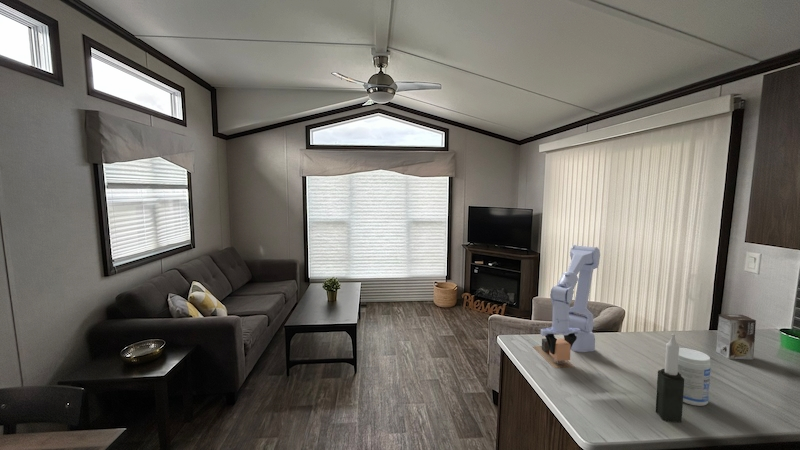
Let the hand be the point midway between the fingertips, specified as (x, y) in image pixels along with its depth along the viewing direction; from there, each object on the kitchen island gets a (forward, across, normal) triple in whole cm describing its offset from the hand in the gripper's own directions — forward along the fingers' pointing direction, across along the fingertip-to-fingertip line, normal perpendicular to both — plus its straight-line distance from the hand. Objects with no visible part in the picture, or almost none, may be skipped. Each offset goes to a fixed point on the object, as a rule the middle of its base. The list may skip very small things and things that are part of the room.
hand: (559, 352), depth 129 cm
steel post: (+4, 0, 0) cm, 4 cm away
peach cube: (+2, 0, 0) cm, 2 cm away
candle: (+6, +16, -31) cm, 35 cm away
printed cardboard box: (+5, +74, +2) cm, 74 cm away
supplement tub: (+6, +30, -23) cm, 38 cm away
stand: (+5, 0, +5) cm, 7 cm away
